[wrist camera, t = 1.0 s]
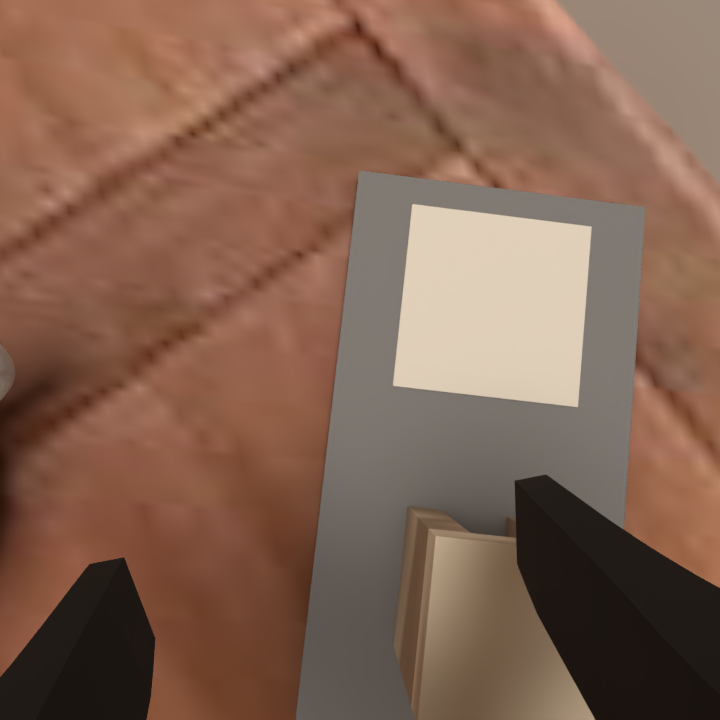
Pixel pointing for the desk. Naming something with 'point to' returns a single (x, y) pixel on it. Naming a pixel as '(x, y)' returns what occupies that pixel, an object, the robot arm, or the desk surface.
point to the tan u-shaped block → (474, 629)
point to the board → (461, 396)
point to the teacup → (6, 372)
